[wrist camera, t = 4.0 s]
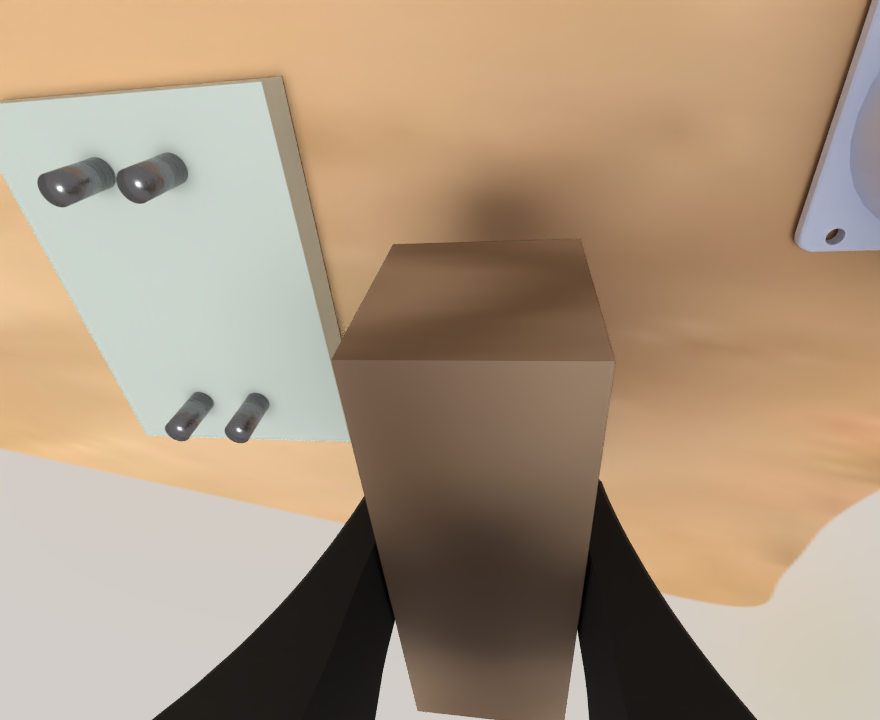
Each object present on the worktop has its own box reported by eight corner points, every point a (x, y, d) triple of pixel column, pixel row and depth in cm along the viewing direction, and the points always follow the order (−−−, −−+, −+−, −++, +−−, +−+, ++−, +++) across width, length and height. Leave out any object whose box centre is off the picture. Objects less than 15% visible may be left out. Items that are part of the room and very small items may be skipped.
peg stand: (281, 76, 15) (227, 90, 12) (359, 419, 23) (337, 476, 20) (4, 100, 17) (-101, 117, 14) (165, 415, 25) (119, 467, 22)
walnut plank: (580, 238, 10) (615, 361, 7) (553, 574, 17) (563, 727, 13) (393, 244, 11) (330, 360, 7) (438, 566, 18) (417, 710, 14)
